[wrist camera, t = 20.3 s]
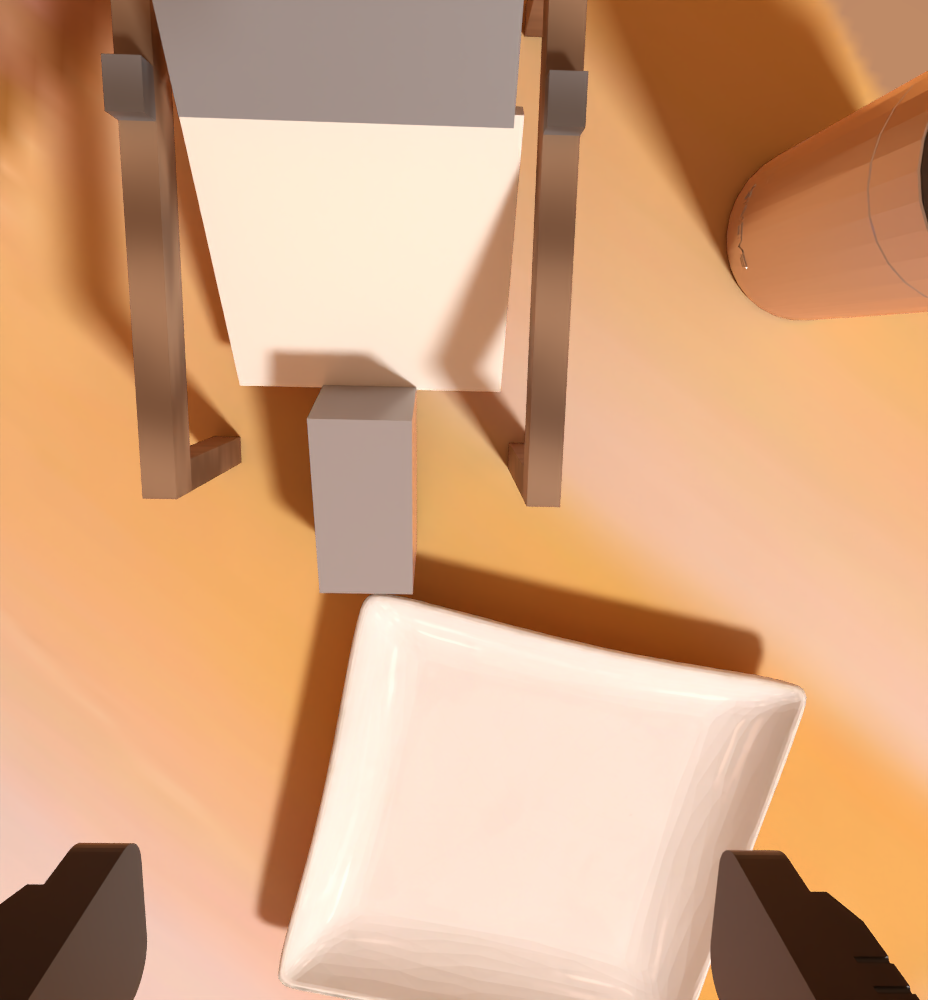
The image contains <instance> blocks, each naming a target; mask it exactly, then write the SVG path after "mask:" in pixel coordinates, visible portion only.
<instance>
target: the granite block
mask: <svg viewBox="0 0 928 1000" xmlns="http://www.w3.org/2000/svg"><path fill="white" fill-rule="evenodd" d="M307 428H308V441H309V454H310V468H311V481H312V495H313V508H314V522H315V535H316V548H317V562H318V575H319V589H320V593H362V594H413V585H414V573H415V561H416V549H417V434H416V387H394V386H349V385H323V386H322V388H321V390H320V392H319V395H318V397H317V399H316V401H315V403H314V405H313V407H312V409H311V411H310V413H309V415H308V417H307Z"/></svg>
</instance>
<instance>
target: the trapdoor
mask: <svg viewBox="0 0 928 1000" xmlns="http://www.w3.org/2000/svg"><path fill="white" fill-rule="evenodd" d="M152 2H153V6H154V10H155V15H156V19H157V24H158V28H159V32H160V37H161V41H162V46H163V50H164V54H165V59H166V63H167V68H168V72H169V76H170V81H171V85H172V90H173V94H174V98H175V103H176V107H177V112H178V116H179V118H180V123H181V127H182V132H183V136H184V140H185V145H186V149H187V154H188V158H189V163H190V167H191V171H192V176H193V180H194V185H195V189H196V193H197V198H198V202H199V207H200V211H201V215H202V220H203V224H204V229H205V233H206V238H207V242H208V246H209V251H210V255H211V260H212V264H213V268H214V273H215V277H216V282H217V286H218V290H219V295H220V299H221V304H222V308H223V312H224V317H225V321H226V326H227V330H228V335H229V339H230V343H231V348H232V352H233V357H234V361H235V365H236V370H237V374H238V379H239V383H240V385H242V386H282V387H322V386H323V385H349V386H394V387H416V390H444V391H485V392H500V391H501V380H502V368H503V356H504V345H505V333H506V321H507V310H508V298H509V286H510V275H511V263H512V251H513V240H514V228H515V216H516V205H517V193H518V181H519V170H520V158H521V146H522V135H523V123H524V111H523V107H515V106H516V93H517V80H518V67H519V54H520V41H521V28H522V15H523V2H524V0H152Z"/></svg>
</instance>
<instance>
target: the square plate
mask: <svg viewBox="0 0 928 1000" xmlns="http://www.w3.org/2000/svg"><path fill="white" fill-rule="evenodd" d="M805 705H806V694H805V691H804V690H803V689H802V688H801V687H799V686H798V685H795V684H792V683H789V682H785V681H782V680H778V679H772V678H769V677H763V676H759V675H755V674H746V673H742V672H736V671H729V670H722V669H716V668H711V667H705V666H699V665H693V664H687V663H681V662H674V661H670V660H666V659H658V658H654V657H648V656H642V655H636V654H632V653H626V652H622V651H618V650H613V649H607V648H603V647H599V646H595V645H590V644H586V643H582V642H578V641H574V640H569V639H565V638H561V637H557V636H552V635H548V634H545V633H541V632H536V631H533V630H529V629H525V628H521V627H517V626H513V625H509V624H505V623H502V622H498V621H495V620H491V619H488V618H484V617H480V616H477V615H472V614H468V613H465V612H461V611H457V610H452V609H449V608H446V607H442V606H438V605H434V604H430V603H427V602H423V601H419V600H415V599H410V598H405V597H400V596H395V595H389V594H371V595H370V596H368V597H367V598H366V599H365V600H364V602H363V604H362V607H361V610H360V613H359V616H358V620H357V624H356V628H355V632H354V637H353V641H352V646H351V651H350V656H349V661H348V667H347V672H346V677H345V683H344V688H343V693H342V699H341V704H340V710H339V715H338V721H337V726H336V731H335V737H334V742H333V747H332V751H331V756H330V761H329V766H328V771H327V776H326V781H325V785H324V790H323V795H322V799H321V804H320V809H319V813H318V817H317V821H316V825H315V829H314V833H313V838H312V842H311V846H310V849H309V853H308V857H307V861H306V864H305V868H304V872H303V875H302V879H301V883H300V886H299V890H298V894H297V897H296V901H295V904H294V908H293V912H292V915H291V919H290V923H289V926H288V930H287V934H286V937H285V941H284V945H283V949H282V953H281V959H280V965H279V980H280V981H281V983H282V984H283V985H285V986H286V987H289V988H292V989H297V990H301V991H306V992H312V993H317V994H322V995H327V996H333V997H338V998H343V999H349V1000H698V998H699V995H700V992H701V989H702V986H703V983H704V981H705V978H706V975H707V972H708V969H709V967H710V964H711V957H710V943H711V933H712V924H713V915H714V906H715V897H716V888H717V878H718V869H719V862H720V858H721V855H722V853H723V852H724V851H726V850H752V849H753V847H754V844H755V841H756V839H757V836H758V833H759V831H760V828H761V825H762V823H763V820H764V817H765V815H766V812H767V809H768V807H769V804H770V802H771V799H772V797H773V794H774V792H775V789H776V786H777V784H778V781H779V779H780V776H781V773H782V770H783V767H784V765H785V762H786V759H787V757H788V754H789V751H790V749H791V746H792V743H793V740H794V737H795V734H796V732H797V729H798V726H799V723H800V720H801V718H802V715H803V711H804V708H805Z"/></svg>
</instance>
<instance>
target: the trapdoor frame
mask: <svg viewBox="0 0 928 1000" xmlns="http://www.w3.org/2000/svg"><path fill="white" fill-rule="evenodd" d="M586 12H587V0H527V2H526V16H525V36H528V37H542V51H541V75H540V98H539V121H538V145H537V168H536V192H535V215H534V238H533V262H532V285H531V308H530V332H529V355H528V379H527V402H526V425H525V443H509V458H508V469H509V471H510V473H511V475H512V477H513V479H514V481H515V483H516V485H517V487H518V490H519V492H520V494H521V496H522V498H523V500H524V502H525V504H526V506H532V507H560V498H561V480H562V461H563V442H564V423H565V405H566V386H567V367H568V349H569V330H570V311H571V293H572V274H573V255H574V236H575V218H576V199H577V180H578V162H579V143H580V135H581V133H582V132H583V130H584V129H585V123H586V104H587V86H588V71H583V68H584V50H585V31H586ZM111 13H112V29H113V44H114V54H101V62H102V77H103V92H104V107H105V111H106V112H107V113H109V114H110V115H112V116H113V117H115V118H116V119H117V120H118V122H119V138H120V154H121V169H122V185H123V200H124V216H125V231H126V247H127V263H128V278H129V294H130V309H131V325H132V341H133V356H134V372H135V387H136V403H137V419H138V434H139V450H140V465H141V481H142V496H143V498H144V499H178V498H180V497H181V496H183V495H185V494H187V493H189V492H190V491H192V490H194V489H196V488H197V487H199V486H201V485H203V484H204V483H206V482H208V481H210V480H211V479H213V478H215V477H217V476H219V475H220V474H222V473H224V472H226V471H227V470H229V469H231V468H233V467H234V466H236V465H238V464H240V463H241V441H240V437H219V436H214V437H211V438H209V439H206V440H204V441H201V442H199V443H196V444H193V445H191V446H190V441H189V421H188V401H187V381H186V361H185V341H184V321H183V301H182V281H181V262H180V242H179V222H178V202H177V182H176V162H175V142H174V122H173V102H172V85H171V81H170V76H169V72H168V68H167V63H166V59H165V54H164V50H163V46H162V41H161V37H160V32H159V28H158V24H157V19H156V15H155V10H154V6H153V2H152V0H111Z"/></svg>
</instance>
